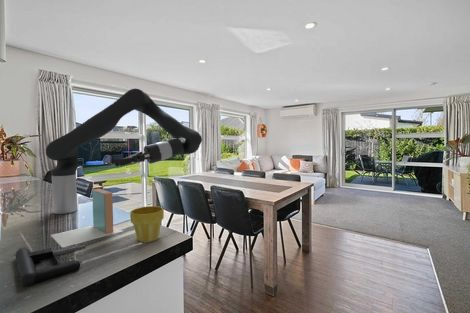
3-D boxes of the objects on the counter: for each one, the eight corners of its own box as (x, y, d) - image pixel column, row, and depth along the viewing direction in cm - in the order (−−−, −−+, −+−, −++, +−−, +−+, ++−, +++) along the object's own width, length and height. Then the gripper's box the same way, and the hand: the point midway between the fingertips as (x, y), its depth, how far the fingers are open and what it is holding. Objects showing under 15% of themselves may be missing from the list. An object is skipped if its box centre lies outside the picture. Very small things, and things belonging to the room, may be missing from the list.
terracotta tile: (93, 226, 89) (91, 189, 88) (100, 224, 91) (99, 188, 90) (105, 234, 81) (104, 193, 80) (113, 232, 83) (112, 192, 82)
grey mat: (50, 236, 80) (50, 235, 80) (106, 223, 94) (106, 222, 94) (62, 249, 71) (62, 247, 71) (123, 232, 84) (123, 231, 84)
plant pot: (127, 237, 80) (126, 208, 79) (157, 230, 86) (157, 204, 86) (135, 248, 72) (135, 216, 71) (168, 239, 78) (168, 210, 77)
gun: (79, 236, 76) (9, 249, 64) (98, 257, 62) (14, 278, 50) (78, 246, 76) (9, 261, 64) (97, 269, 62) (13, 294, 50)
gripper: (150, 144, 103) (110, 155, 93) (161, 141, 92) (117, 152, 82) (155, 161, 104) (116, 173, 94) (167, 160, 93) (124, 173, 83)
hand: (117, 163), depth 88 cm, fingers open, 8 cm apart
